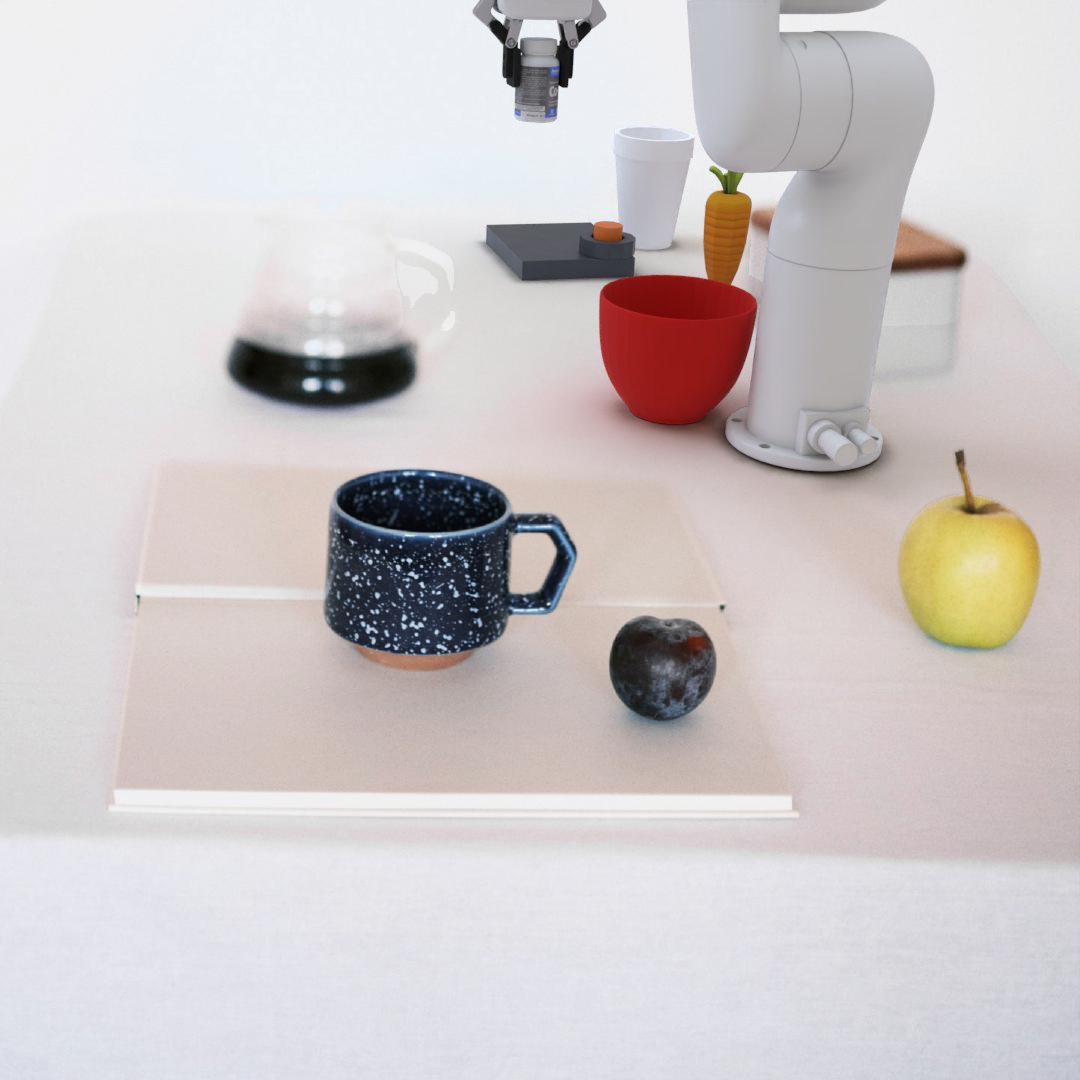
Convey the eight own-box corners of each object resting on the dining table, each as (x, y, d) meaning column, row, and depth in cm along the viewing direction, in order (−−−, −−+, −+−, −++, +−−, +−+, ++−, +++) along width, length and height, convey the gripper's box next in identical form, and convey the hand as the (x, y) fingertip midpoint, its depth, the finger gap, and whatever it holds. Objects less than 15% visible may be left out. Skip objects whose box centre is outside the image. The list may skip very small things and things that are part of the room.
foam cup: (593, 235, 169) (601, 127, 164) (659, 231, 173) (668, 124, 167) (630, 255, 162) (639, 142, 156) (698, 250, 165) (709, 140, 160)
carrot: (726, 308, 145) (742, 163, 138) (686, 298, 147) (700, 155, 141) (750, 298, 148) (767, 157, 142) (710, 289, 151) (725, 149, 144)
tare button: (625, 243, 153) (627, 227, 152) (598, 244, 152) (599, 228, 151) (616, 236, 155) (617, 220, 155) (589, 236, 155) (590, 221, 154)
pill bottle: (556, 124, 149) (560, 42, 145) (513, 122, 149) (516, 40, 145) (557, 116, 153) (561, 37, 149) (515, 114, 153) (517, 34, 149)
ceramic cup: (784, 392, 123) (799, 283, 118) (705, 452, 109) (718, 331, 105) (654, 362, 128) (663, 256, 124) (564, 415, 115) (570, 299, 111)
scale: (639, 278, 153) (642, 242, 152) (523, 282, 150) (524, 246, 148) (593, 240, 168) (596, 207, 166) (485, 243, 164) (486, 209, 162)
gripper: (473, -101, 136) (469, 91, 144) (635, -94, 140) (622, 91, 148) (456, -104, 142) (452, 80, 150) (611, -98, 147) (600, 80, 155)
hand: (537, 83), depth 149 cm, fingers closed on pill bottle, 4 cm apart
